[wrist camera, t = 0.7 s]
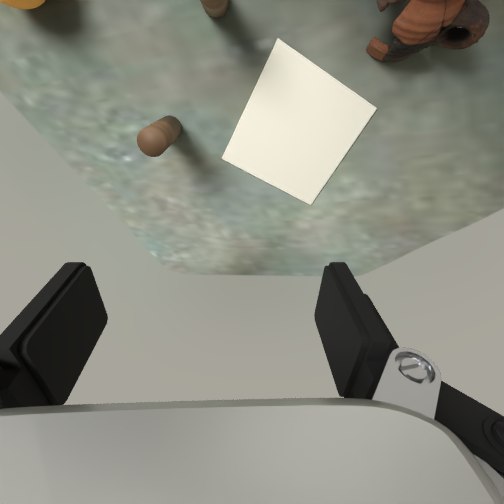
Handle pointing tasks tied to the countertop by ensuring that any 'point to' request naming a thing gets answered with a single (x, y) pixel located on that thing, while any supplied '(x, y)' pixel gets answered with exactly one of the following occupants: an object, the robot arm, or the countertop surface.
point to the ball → (23, 3)
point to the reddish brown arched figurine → (431, 27)
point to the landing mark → (296, 125)
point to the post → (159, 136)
